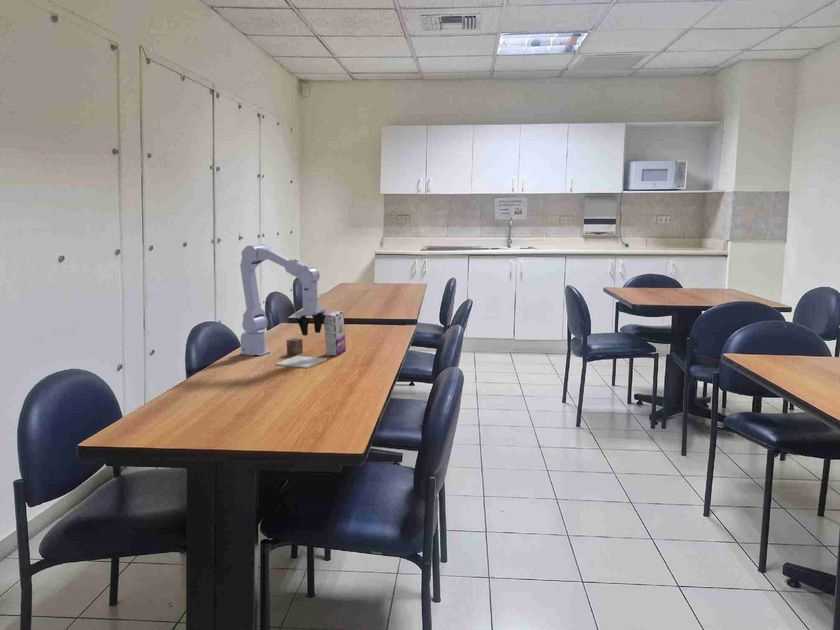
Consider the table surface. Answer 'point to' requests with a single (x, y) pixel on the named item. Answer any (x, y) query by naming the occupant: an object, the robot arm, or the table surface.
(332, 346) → the candy bar box
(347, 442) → the table surface
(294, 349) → the walnut block
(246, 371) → the table surface
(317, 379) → the table surface
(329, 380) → the table surface
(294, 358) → the pad
